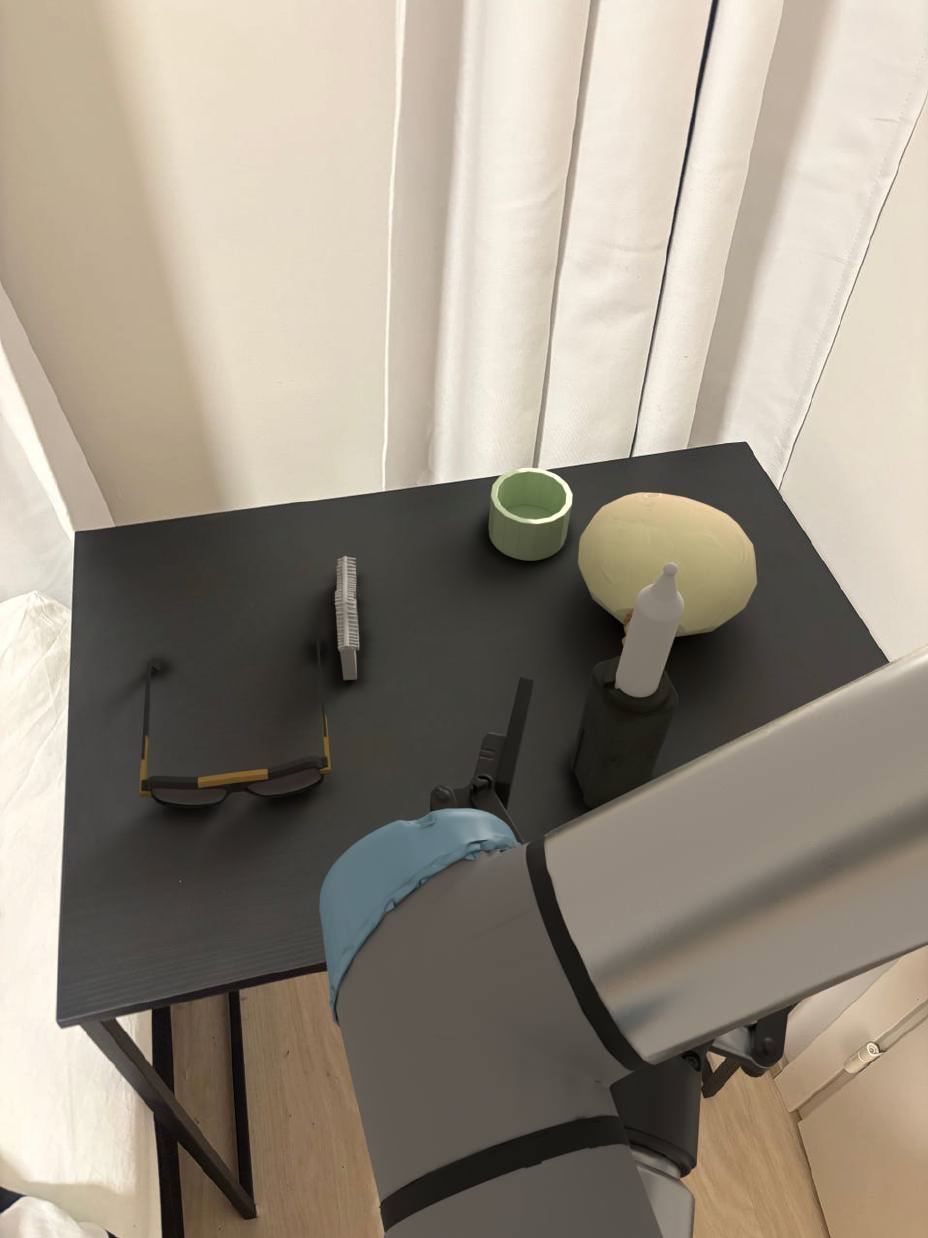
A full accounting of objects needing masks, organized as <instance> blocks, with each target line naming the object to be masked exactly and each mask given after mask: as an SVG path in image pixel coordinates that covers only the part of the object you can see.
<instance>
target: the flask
mask: <svg viewBox="0 0 928 1238" xmlns="http://www.w3.org/2000/svg"><path fill="white" fill-rule="evenodd" d="M578 544H579V545H578V555H577V565H578V568H579V570H580V573H581V577H582V579H583V580H584V582H585V585H586V587H587V589H588V592H589V594H590V596H591V599H592V600H593V601H594V602H596V603H597V604H598V605H599V606H600V607H601V608H603V609H604V610H605V611H607V612H608V613H609V614H610V615H612V617H614V618H615V619H616V620H618V621H619V622H620V623H621V624H623V630H624V635H625V636H624V637H623V638H622V639H621V643H622V646H623V647H624V644H625V640H626V636H627V633H628V629H629V625H630V622H631V618H632V614H633V610H634V607H635V603H636V599H637V597H638V594H639V593H640V592H641V590H642V589H644V588H645V587H647V586H649V585H651V584H654V583H655V582H656V580H657V579H658V578H659V577H660V576H661V575H662V573H663V572H664V570H663V568H664V566H665V564H667V563H670V562H672V563H675V564H676V565H677V567H678V572H677V574H675V578H676V586H677V591H678V592H679V593H680V595H681V597H682V599H683V601H684V610H683V613H682V616H681V619H680V622H679V625H678V628H677V631H676V634H675V637H674V638H676V637H683V636H684V637H685V636H691V635H697V634H705V633H711V632H713V631H715V630H716V629H718V628H719V627H720V626H722V625H723V624H725V623H726V622H728V621H729V620H731V619H732V618H733V617H735V616H736V615H738V614H739V613H740V612H742V611H743V610H744V609H745V608H746V607H747V605H748V603H749V600H750V599H751V597H752V595H753V592H754V591H755V588H757V587H756V586H757V585H758V577H757V564H756V554H755V549H754V548H755V547H754V544H753V542H752V541H751V540H750V538H749V537H748V536H747V535H746V532H745V531H744V530H743V529H742V527H741V526H740V524H739V523H738V522H737V521H735V520H734V519H733V518H732V517H731V516H730V515H729V514H727V513H725V512H723V511H721V510H719V509H717V508H715V507H713V506H711V505H709V504H706V503H703V502H701V501H698V500H695V499H692V498H688V497H686V496H680V495H673V494H669V493H668V494H667V493H662V492H641V491H640V492H639V491H638V492H635V493H631V494H626V495H623V496H622V497H620V498H617V499H615V500H613V501H611V502H609V503H607V504H604V505H603V506H601V508H600V509H599V510H598V511H597V512H596V513H595V515H594V516H593V517H592V518H591V520H590V521H589V523H588V525H587V526H586V527H585V529H584V531H583V532H582V533H581V535H580V536H579V542H578Z"/></svg>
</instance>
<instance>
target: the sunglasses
mask: <svg viewBox="0 0 928 1238" xmlns="http://www.w3.org/2000/svg"><path fill="white" fill-rule="evenodd" d="M315 644H316V645H315V646H316V658H317V667H318V679H319V693H320V694H319V695H320V704H321V725H322V736H323V745H324V747H323V749H324V756H318V755H309V756H304V757H301V758H298V759H294V760H291V761H288V762H285V763H281V764H277V765H273V766H270V767H266V768H261V769H253V770H244V771H243V770H242V771H236V772H228V773H221V774H213V775H206V776H178V775H177V776H176V775H150V776H149V777H148V778H147V774H148V773H147V772H148V756H149V754H148V753H149V729H150V713H151V712H150V709H151V680H152V679H151V678H152V677H151V676H152V670H153V671H156V672H158V671H161V664H160V659H159V658H158V657H150V658H148V660H147V664H146V674H145V675H146V676H145V690H144V706H143V720H142V721H143V723H142V737H141V757H140V770H139V787H138V796H141V798H147V797H151V798H152V799H153V800H154V801H155V803H157V804H158V805H160V806H164V807H169V808H174V809H183V810H185V809H205V808H209V807H214V806H218V805H220V804H223V802H224V801H225V800H227V798H228V797H229V796H230V795H231V794H235V793H242V792H244V793H246V794H250V795H253V796H254V797H259V798H262V799H282V798H286V797H291V796H295V795H300V794H303V793H305V792H308V791H311V790H313V789H315V788H317V787H319V786H320V785H322V784H323V783H324V780H325V775H326V774H331V773H332V772H331V771H332V768H331V755H330V743H329V742H330V741H329V740H330V739H329V730H328V717H327V715H326V706H325V705H326V704H325V693H324V682H323V673H322V672H323V671H322V660H321V654H322V644H321V639H319V638H318V639H316V643H315Z"/></svg>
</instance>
